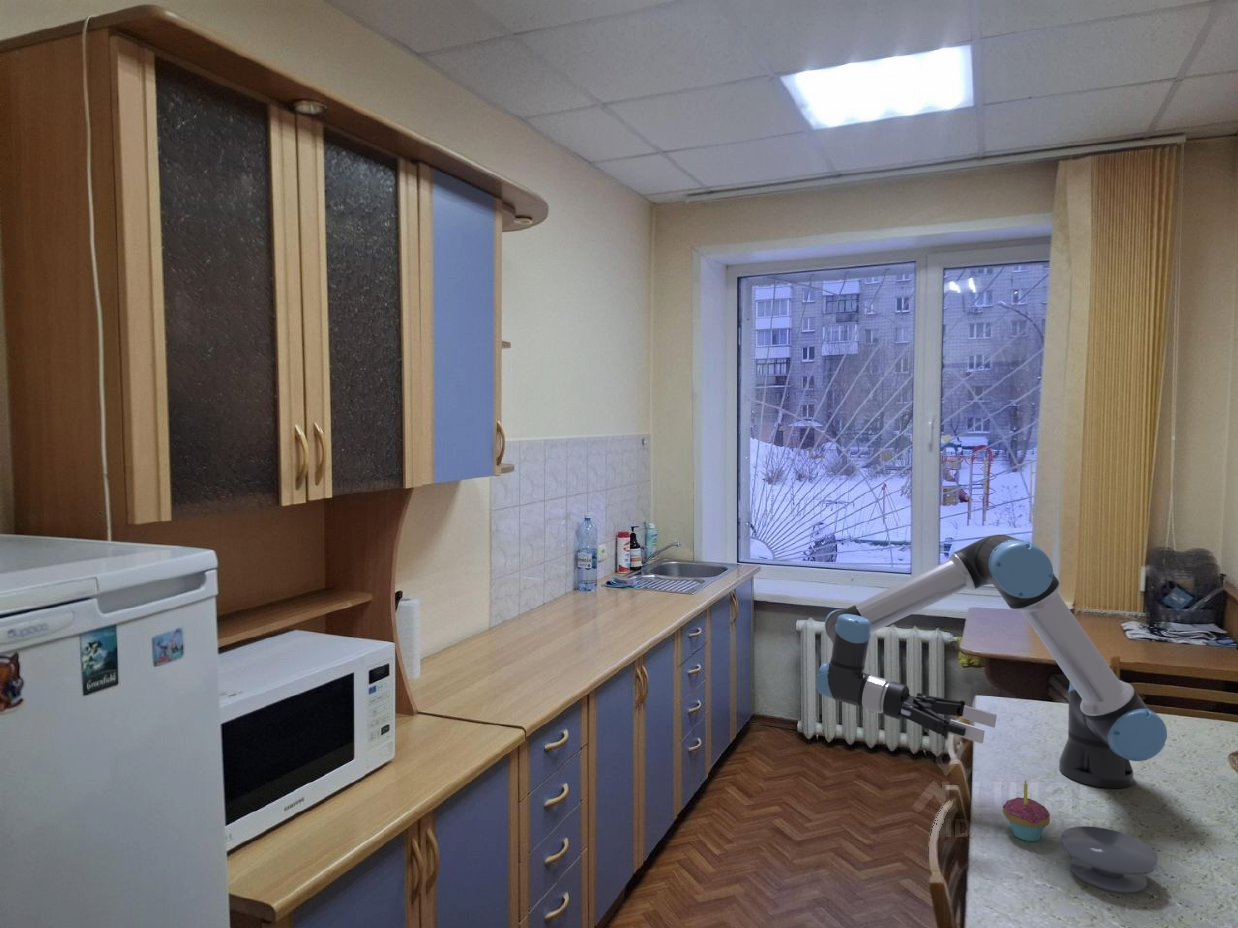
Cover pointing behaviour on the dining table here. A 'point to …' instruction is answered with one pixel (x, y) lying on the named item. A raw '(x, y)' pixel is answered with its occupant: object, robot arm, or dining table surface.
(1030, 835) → the cupcake
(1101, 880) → the cake stand
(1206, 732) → the dining table surface
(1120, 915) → the dining table surface
